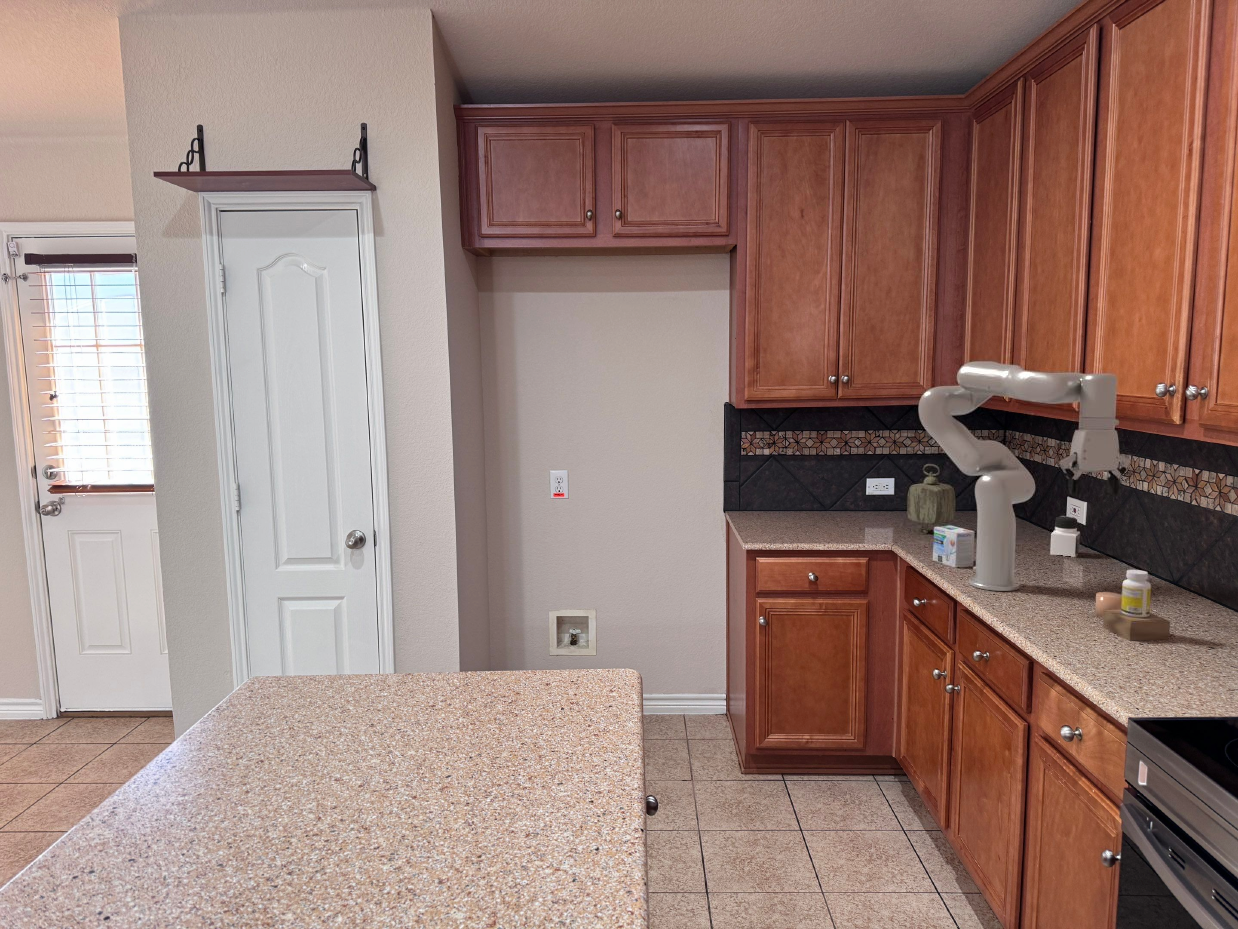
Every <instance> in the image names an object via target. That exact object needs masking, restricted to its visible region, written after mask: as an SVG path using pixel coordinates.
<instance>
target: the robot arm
mask: <svg viewBox="0 0 1238 929" xmlns="http://www.w3.org/2000/svg"><path fill="white" fill-rule="evenodd" d="M956 374H957V375H956V381H957V384H958V385H943V386H941V385H940V386H935V387H932V388H930V389H928V390H926V391H925V392H924V393H923V394H922V395H921V397H920V399H919V402H918V417H919V421H920V422H921V425H922V426H923V427H924V430H926V432H927V433H928V434H929V435H930V437H932V438H933V439H934V441H936V442H937V444H938V445H939V446H940V447H941V449H942V450H943V451H944V453H945V454H946V455H947V456H948V457H949V458H950V460H951V462H953V464H954V465H956V467H957V468H958V469H959V471H961V472H962V473H963V474H965V475H967V476H971V477H972V476H973V477H974V476H975V477H976V476H980V477H979V479H978V480H977V481H976V483H975V486H974V496H975V502H976V510H977V511H976V512H977V514H976V515H977V516H976V518H977V521H976V524H977V526H976V552H975V553H976V554H975V555H976V556H975V566H974V565H973V566H972V570H974V571H975V575H974V576H972V577H970V578H969V579H968V580H969V581H968V584H969V585H970V586H972V587H974V588H978V589H981V590H985V591H986V590H987V591H995V592H996V591H997V592H1010V591H1017V590H1019V589H1020V587H1021V583H1020V582H1019V581H1018V580H1015V579H1014V576H1015V558H1016V557H1015V555H1016V535H1017V534H1016V533H1017V530H1016V529H1017V528H1016V527H1017V520H1016V515H1015V512H1014V508H1013V505H1014V504H1015V505H1016V504H1019V503H1024V502H1026V501H1028V500H1030V499H1031V498H1032V497H1033V495H1034V494H1035V492H1036V484H1035V480H1034V478H1033V475H1032V474H1031V473H1030V472H1029V470H1028V469H1027V468H1026V467H1025V466H1024V465H1023V464H1022V463H1021V461H1020V460H1019V459H1018V458H1017V457H1016V456H1015V455H1014V453H1013V452H1012V451H1011V450H1010V449H1009V448H1008V447H1007V446H1006V445H1004V444H1003V443H1001V442H999V441H996V440H989V439H985V440H979V439H978V438H976V437H975V435H973V434H972V433H971V432H970V430H969V429H968V428H967V427H966V426H965V425H964V424H963V423H961V422H960V421H958V420H957V419H956V418H955V417H953V416H962V415H966V414H969V413H972V412H973V411H975V410H976V409H977V408H978V407H980V406H981V405H983V404H984V403H985V402H986V401H987V400H989V399H990V398H991V397H993V396H999V397H1006V398H1011V399H1016V400H1021V401H1027V402H1033V403H1041V404H1049V405H1056V404H1073V403H1079V418H1078V420H1079V421H1078V429H1075V431H1074V433H1073V436H1072V441H1071V446H1070V452H1069V456H1066V457H1065V458H1063V459H1061V460H1059V462H1058V463H1059V465H1060V468H1061V470H1062V473H1063V474H1064V475H1065V476H1066V478H1067V479H1068V489H1067V490H1068V495H1070V496H1075V497H1079V496H1080V493H1081V492H1080V491H1081V489H1080V488H1081V479H1079V478H1080V476H1081V475H1082V474H1083V473H1085V472H1086V473H1089V472H1090V473H1092V472H1106V473H1107V475H1108V477H1107V478H1106V493H1107V494H1108V495H1114V496H1117V495H1118V494H1119V485H1120V483H1119V482H1120V479H1122V478H1123V475H1124V474H1125V473H1126V472H1127V470H1128V468H1129V466H1130V464H1131V460H1130V459H1129V458H1127V457H1125V456H1123V455H1121V454H1120V444H1119V436H1118V431H1117V430H1115V428H1116V426H1118V425H1119V424H1120V421H1119V420H1118V419H1116V414H1117V413H1116V412H1117V411H1116V410H1117V394H1118V393H1117V392H1118V378H1117V376H1116V375H1115V374H1114V373H1080V372H1045V371H1044V372H1043V371H1033V370H1024V369H1023V368H1022V367H1021V366H1020V365H1017V364H1008V363H999V362H997V361H989V360H988V361H985V360H984V361H979V360H978V361H977V360H976V361H970V362H967V363H964V364H963V365H962V366H961V367H960V368H959V370H958V371H957V373H956Z"/></svg>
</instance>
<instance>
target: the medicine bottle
mask: <svg viewBox="0 0 1238 929" xmlns="http://www.w3.org/2000/svg"><path fill="white" fill-rule="evenodd" d="M1054 525H1055V526H1054V530H1053V532H1051V534H1050V535H1051V536H1050V554H1049V555H1051V556H1056V555H1063V556H1062V557H1065V556H1071V557H1070V558H1074V557H1075V558H1076V557H1078V555H1079V554H1080V541H1081V532H1080V531H1077V530H1078V519H1077V518H1075V517H1073V516H1067V515H1066V516H1065V515H1060V516H1057V517H1055V524H1054ZM1078 553H1079V554H1078Z"/></svg>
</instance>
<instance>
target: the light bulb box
mask: <svg viewBox="0 0 1238 929" xmlns="http://www.w3.org/2000/svg"><path fill="white" fill-rule="evenodd" d="M932 548H933V549H932V550H933V551H932V561H934V562H937V563H940V564H943V565H945V566H949V567H952V568H954V567H960V568H969V566H970V567H974V555H975V554H974V552H975V531H974V530H969V529H966V528H963V527H959V526H954V525H944V526H940V525H939V526H934V527H933V547H932Z"/></svg>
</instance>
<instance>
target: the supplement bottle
mask: <svg viewBox="0 0 1238 929" xmlns="http://www.w3.org/2000/svg"><path fill="white" fill-rule="evenodd" d="M1126 578H1127V579H1124V580H1123V582H1122V586H1121V595H1122V606H1121V612H1122V613H1123V614H1124V615H1127V616H1131V617H1148V616H1149V615H1150V613H1151V596H1152V595H1151V594H1152V593H1151V592H1152V585H1151V583H1150V582H1149V581H1147V580H1148V578H1149V573H1148V571H1145V570H1139V569H1127V570H1126Z"/></svg>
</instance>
